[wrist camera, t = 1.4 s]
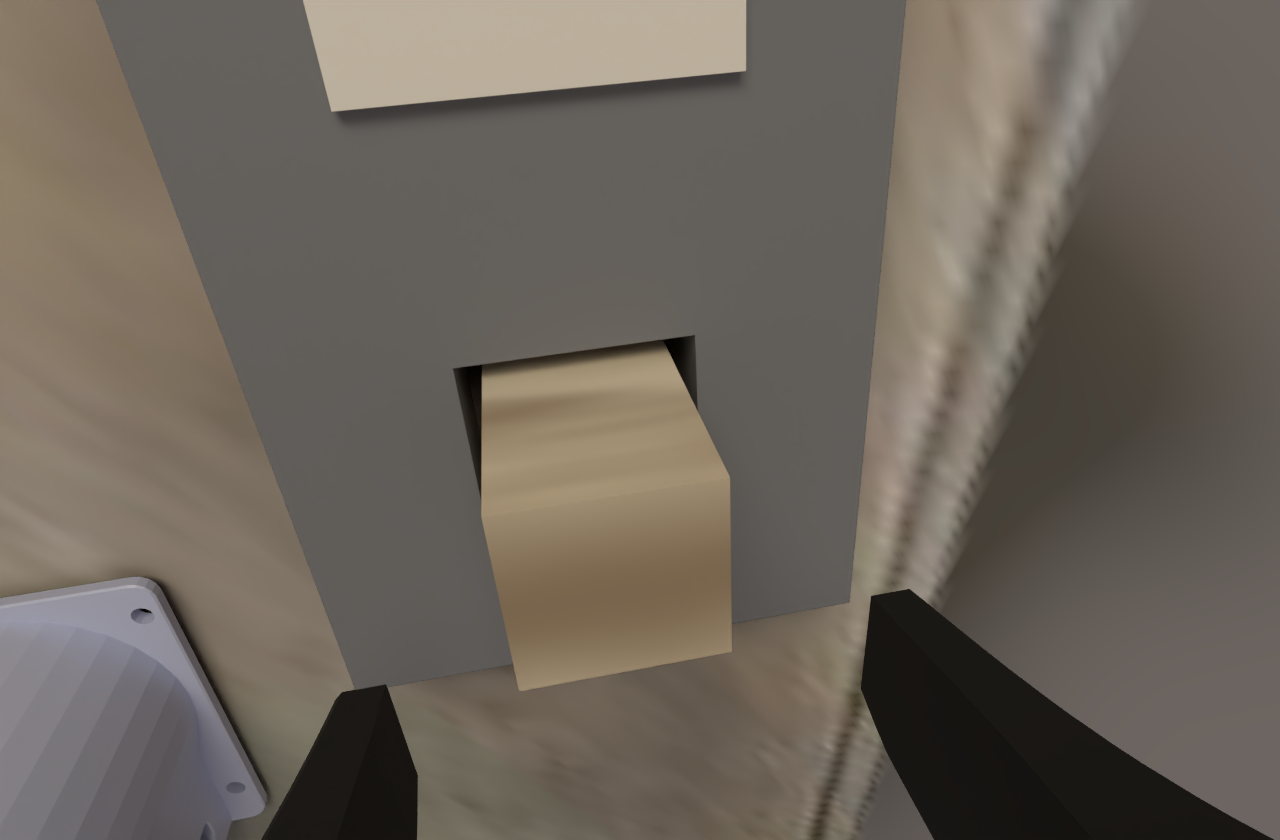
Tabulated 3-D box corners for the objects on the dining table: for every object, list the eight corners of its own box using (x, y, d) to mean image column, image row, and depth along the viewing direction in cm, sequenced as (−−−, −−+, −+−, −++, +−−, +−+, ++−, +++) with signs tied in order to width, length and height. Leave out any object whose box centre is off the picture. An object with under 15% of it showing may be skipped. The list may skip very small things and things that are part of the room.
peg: (659, 454, 21) (731, 651, 15) (508, 477, 20) (519, 690, 14) (650, 314, 18) (730, 477, 13) (481, 337, 18) (481, 517, 12)
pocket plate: (815, 544, 23) (853, 610, 21) (368, 621, 22) (355, 702, 19) (882, -572, 12) (984, -709, 9) (-38, -573, 10) (-194, -738, 8)
